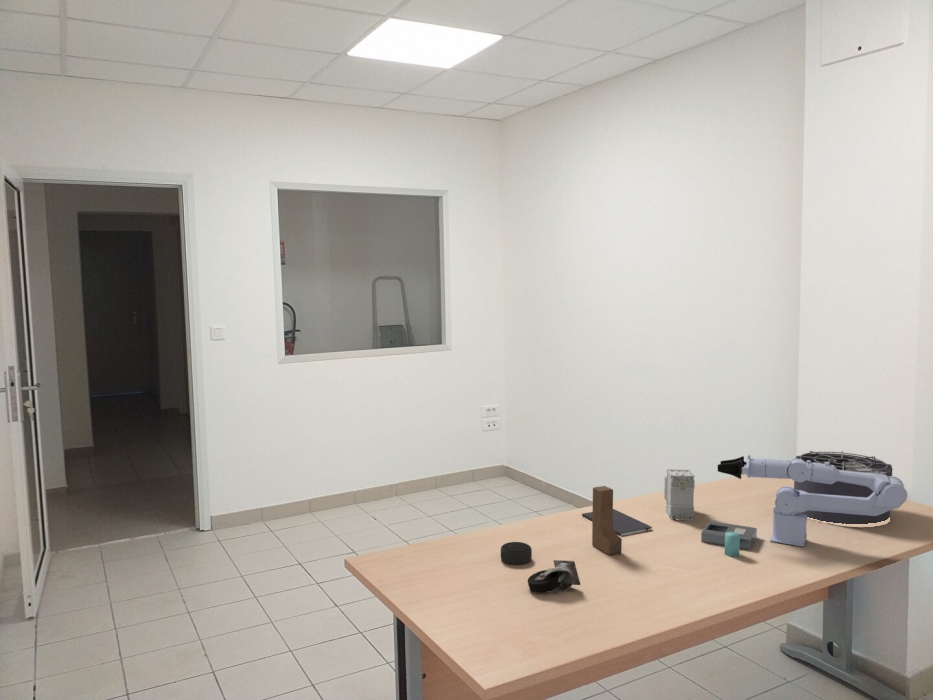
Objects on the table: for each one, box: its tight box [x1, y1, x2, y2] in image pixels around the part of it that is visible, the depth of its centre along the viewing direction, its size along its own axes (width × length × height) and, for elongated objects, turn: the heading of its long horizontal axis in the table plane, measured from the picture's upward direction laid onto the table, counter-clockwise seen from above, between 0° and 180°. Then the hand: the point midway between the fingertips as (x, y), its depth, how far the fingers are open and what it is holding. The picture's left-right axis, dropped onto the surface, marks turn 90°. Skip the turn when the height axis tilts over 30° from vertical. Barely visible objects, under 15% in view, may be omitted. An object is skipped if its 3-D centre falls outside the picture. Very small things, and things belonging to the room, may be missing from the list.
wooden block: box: [591, 485, 623, 556], centre depth 217 cm, size 9×4×18 cm, turn 24°
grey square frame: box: [700, 520, 758, 550], centre depth 225 cm, size 14×12×3 cm
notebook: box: [581, 508, 653, 537], centre depth 241 cm, size 13×2×21 cm
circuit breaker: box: [663, 468, 696, 521], centre depth 250 cm, size 8×14×15 cm, turn 174°
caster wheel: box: [527, 559, 581, 595], centre depth 190 cm, size 7×11×10 cm
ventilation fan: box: [793, 450, 893, 524], centre depth 249 cm, size 30×18×30 cm
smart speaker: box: [500, 541, 533, 565], centre depth 211 cm, size 9×9×4 cm
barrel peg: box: [724, 532, 740, 558], centre depth 213 cm, size 4×4×6 cm
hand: (719, 466), depth 231 cm, fingers open, 7 cm apart
